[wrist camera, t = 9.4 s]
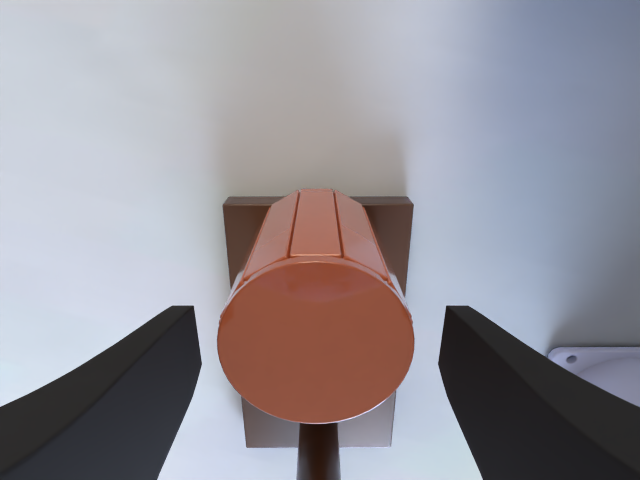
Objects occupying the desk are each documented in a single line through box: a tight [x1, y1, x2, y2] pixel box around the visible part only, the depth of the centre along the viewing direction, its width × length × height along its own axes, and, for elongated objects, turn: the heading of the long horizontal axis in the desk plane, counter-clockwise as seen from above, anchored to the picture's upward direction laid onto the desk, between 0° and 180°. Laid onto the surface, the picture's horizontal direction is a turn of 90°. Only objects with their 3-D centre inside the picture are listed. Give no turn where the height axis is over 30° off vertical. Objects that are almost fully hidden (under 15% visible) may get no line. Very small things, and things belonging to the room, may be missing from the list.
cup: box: [217, 189, 414, 424], centre depth 14 cm, size 5×5×7 cm
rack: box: [223, 197, 414, 480], centre depth 17 cm, size 8×14×7 cm, turn 0°
